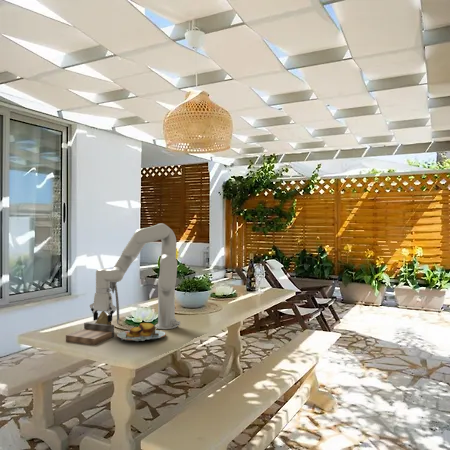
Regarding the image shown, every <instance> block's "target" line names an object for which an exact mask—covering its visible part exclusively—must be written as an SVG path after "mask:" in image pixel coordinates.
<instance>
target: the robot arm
mask: <svg viewBox="0 0 450 450" xmlns="http://www.w3.org/2000/svg"><path fill="white" fill-rule="evenodd" d="M156 241H161V251H160V260H159V264H160V265H159V276H158V279H157V292H158V293H157V294H158V295H157V296H158V297H157V301H158V303H157V317H158V318H157V323H156V324H155V325H154V326H155V329H159V330H173V329H176V328H177V327H178V326H181V321H179V320H177V318H175V317H176V314H175V313H176V312H175V311H176V310H175V309H176V303H175V302H176V301H175V299H176V295H175V294H176V292H175V291H176V290H175V289H176V288H175V287H176V285H177V276H178V275H177V273H178V260H177V238H176V235H175V232H174V231H173V229H172V228H170V226H168V225H167V224H165V223H163V222H162V223H157V224H155V225H152V226H149V227H143V228H138V229H136V230H135V232H134V233H133V234H132V237H130V239H129V241H128V242H127V244H126V246H125V247H124V249H123V251H122V252H121V255H120V257H119V258H118V260H117V261H116V263H115V265H114V266H113V267H112V269H109V268H104V267H103V268H97V269H96V270H95V293H94V296H93V303H91V304H89V307H90V308H89V309H90V311H91V312H92V314H93V315H92V316H93V319H92V320H93V321H95V322H96V321H97V319H98V317H99V312H102V311H104V312H106V314H107V315H108V322H111V323H112V321H113V315H114V313H115V312H116V311H117V308H116V305H114V304H113V295H112V290H111V288H110V282H117V283H119V282H121V281H122V280H123V278H124V276H125V274H126V273H127V271H128V270H129V268H130V266H131V265H132V263H134V261H135V260H137V258H138V256H139V255H140V253H141V251H142V250H143V248H144V247H145V245H146V244H150V243H153V242H156Z"/></svg>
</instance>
